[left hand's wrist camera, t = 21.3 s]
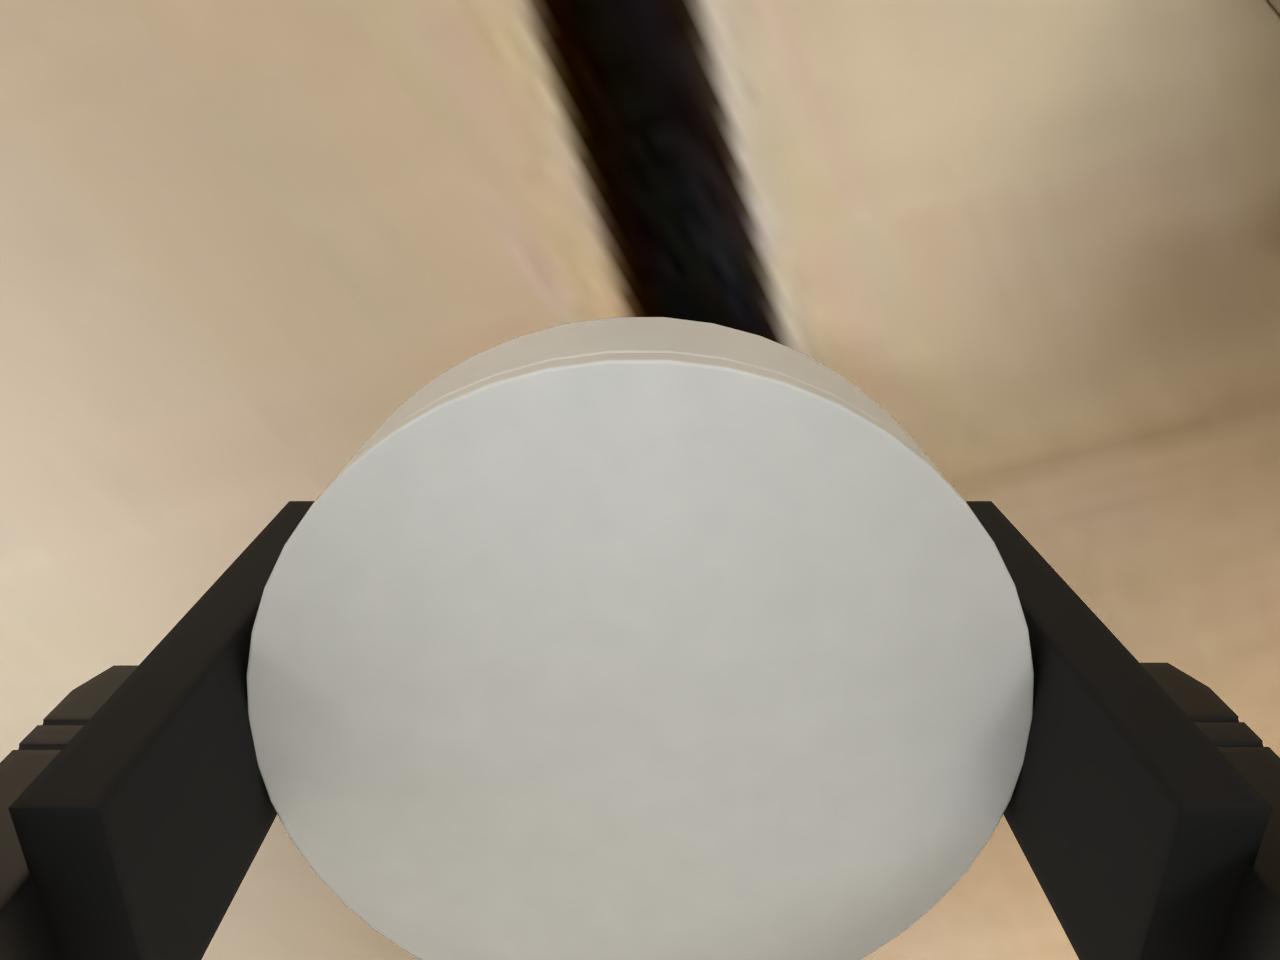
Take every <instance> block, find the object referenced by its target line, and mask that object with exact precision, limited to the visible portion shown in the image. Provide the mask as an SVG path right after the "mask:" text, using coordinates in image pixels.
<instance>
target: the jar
mask: <svg viewBox="0 0 1280 960" xmlns="http://www.w3.org/2000/svg"><path fill="white" fill-rule="evenodd" d="M1269 2H1270V3H1271V4H1272V5H1273V7H1274V8H1275V9H1276V10H1277V11H1278V13H1279V14H1280V0H1269Z"/></svg>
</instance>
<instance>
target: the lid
mask: <svg viewBox="0 0 1280 960" xmlns="http://www.w3.org/2000/svg"><path fill="white" fill-rule="evenodd" d="M1033 684H1034V671H1033V663H1032V655H1031V648H1030V640H1029V632H1028V627H1027V624H1026V620H1025V617H1024V614H1023V610H1022V607H1021V604H1020V600H1019V597H1018V594H1017V590H1016V587H1015V584H1014V582H1013V580H1012V578H1011V576H1010V574H1009V572H1008V570H1007V568H1006V566H1005V564H1004V562H1003V560H1002V557H1001V555H1000V553H999V551H998V549H997V547H996V545H995V543H994V541H993V540H992V539H991V537H990V536H989V534H988V533H987V531H986V530H985V529H984V527H983V526H982V524H981V523H980V521H979V520H978V518H977V517H976V516H975V514H974V513H973V511H972V510H971V508H970V507H969V506H968V504H967V503H966V501H965V500H964V499H963V498H962V497H961V495H960V494H959V493H958V492H957V491H956V490H955V489H954V487H953V486H952V485H951V484H950V483H949V481H948V480H947V479H946V478H945V477H944V475H943V474H942V473H941V472H940V471H939V470H938V468H937V467H936V466H935V465H934V464H933V463H932V461H931V460H930V459H929V458H928V457H927V455H926V454H925V453H924V452H923V451H922V450H921V448H920V447H919V446H918V445H917V444H916V443H915V441H914V440H913V439H912V438H911V437H910V436H909V435H908V434H907V433H906V432H905V430H904V429H903V428H902V427H901V426H900V425H899V424H898V423H897V422H896V421H895V420H894V419H893V418H892V417H891V416H890V415H889V414H888V413H887V412H886V410H885V409H884V408H883V407H882V406H881V405H879V404H878V403H877V402H875V401H874V400H873V399H872V398H870V397H869V396H868V395H867V394H865V393H864V392H863V391H861V390H860V389H859V388H858V387H856V386H855V385H854V384H853V383H851V382H850V381H849V380H848V379H846V378H845V377H843V376H841V375H840V374H838V373H836V372H834V371H833V370H831V369H829V368H828V367H826V366H824V365H822V364H821V363H819V362H817V361H816V360H814V359H812V358H810V357H809V356H807V355H805V354H803V353H800V352H798V351H796V350H793V349H791V348H788V347H786V346H784V345H781V344H779V343H776V342H774V341H771V340H769V339H767V338H764V337H762V336H759V335H755V334H751V333H747V332H743V331H740V330H736V329H732V328H728V327H724V326H721V325H717V324H713V323H705V322H697V321H690V320H682V319H674V318H666V317H613V318H606V319H598V320H591V321H583V322H576V323H569V324H563V325H559V326H556V327H552V328H548V329H545V330H541V331H537V332H534V333H530V334H526V335H523V336H519V337H516V338H513V339H511V340H509V341H506V342H504V343H502V344H499V345H497V346H495V347H492V348H490V349H487V350H485V351H483V352H480V353H478V354H476V355H473V356H471V357H470V358H468V359H466V360H465V361H463V362H461V363H460V364H458V365H456V366H455V367H453V368H451V369H450V370H448V371H446V372H445V373H443V374H441V375H439V376H438V377H436V378H434V379H433V380H431V381H430V382H429V383H428V384H426V385H425V386H424V387H423V388H421V389H420V390H419V391H418V392H416V393H415V394H414V395H413V396H412V397H410V398H409V399H408V400H407V401H405V402H404V403H403V404H402V405H400V406H399V407H398V408H397V409H396V410H395V411H394V412H393V413H392V414H391V415H390V416H389V417H388V418H387V419H386V420H385V422H384V423H383V424H382V425H381V426H380V427H379V428H378V429H377V430H376V431H375V432H374V433H373V434H372V436H371V437H370V438H369V439H368V440H367V441H366V442H365V443H364V444H363V446H362V447H361V448H360V449H359V450H358V451H357V453H356V454H355V455H354V456H353V457H352V459H351V460H350V461H349V462H348V463H347V464H346V466H345V467H344V468H343V469H342V470H341V471H340V473H339V474H338V475H337V476H336V477H335V478H334V480H333V481H332V482H331V483H330V484H329V485H328V487H327V488H326V489H325V490H324V492H323V493H322V494H321V495H320V496H319V497H318V498H317V499H316V501H315V502H314V503H313V504H312V506H311V507H310V509H309V510H308V511H307V513H306V514H305V516H304V517H303V519H302V520H301V522H300V523H299V525H298V526H297V528H296V529H295V531H294V532H293V533H292V535H291V536H290V538H289V539H288V541H287V542H286V544H285V545H284V547H283V550H282V552H281V554H280V556H279V558H278V560H277V562H276V564H275V567H274V569H273V571H272V573H271V575H270V577H269V579H268V581H267V584H266V586H265V588H264V591H263V595H262V598H261V602H260V605H259V609H258V612H257V616H256V619H255V623H254V626H253V629H252V635H251V643H250V652H249V660H248V668H247V697H248V715H249V721H250V726H251V731H252V736H253V742H254V747H255V752H256V757H257V762H258V766H259V770H260V772H261V775H262V778H263V781H264V783H265V786H266V789H267V792H268V794H269V797H270V800H271V802H272V804H273V806H274V808H275V810H276V812H277V814H278V816H279V817H280V819H281V821H282V823H283V825H284V827H285V829H286V831H287V832H288V834H289V836H290V838H291V840H292V841H293V842H294V844H295V845H296V847H297V848H298V849H299V851H300V852H301V854H302V855H303V856H304V858H305V859H306V860H307V862H308V863H309V865H310V866H311V867H312V869H313V870H314V872H315V873H316V874H317V875H318V876H319V877H320V878H321V879H322V880H323V882H324V883H325V884H326V885H327V886H328V887H329V888H330V889H331V890H332V891H333V892H334V893H335V894H336V895H337V896H338V898H339V899H340V900H341V901H342V902H343V903H344V904H345V905H346V906H347V907H349V908H350V909H351V910H352V911H353V912H355V913H356V914H357V915H358V916H359V917H361V918H362V919H363V920H364V921H365V922H366V923H368V924H369V925H370V926H371V927H372V928H374V929H375V930H376V931H377V932H379V933H380V934H382V935H383V936H385V937H386V938H388V939H389V940H391V941H392V942H394V943H395V944H397V945H398V946H400V947H401V948H403V949H404V950H406V951H407V952H409V953H410V954H412V955H413V956H415V957H417V958H419V959H421V960H860V959H862V958H864V957H866V956H867V955H869V954H871V953H872V952H874V951H875V950H877V949H878V948H880V947H881V946H883V945H884V944H886V943H887V942H889V941H890V940H892V939H893V938H895V937H896V936H898V935H899V934H901V933H902V932H904V931H905V930H906V929H908V928H909V927H910V926H911V925H912V924H913V923H915V922H916V921H917V920H918V919H919V918H920V917H922V916H923V915H924V914H925V913H926V912H927V911H929V910H930V909H931V908H932V907H933V906H935V905H936V904H937V903H938V902H939V901H940V900H941V899H942V898H943V897H944V895H945V894H946V893H947V892H948V891H949V890H950V889H951V888H952V887H953V886H954V885H955V884H956V882H957V881H958V880H959V879H960V878H961V877H962V876H963V875H964V874H965V873H966V872H967V870H968V869H969V867H970V866H971V865H972V863H973V862H974V860H975V859H976V858H977V856H978V855H979V853H980V852H981V851H982V849H983V848H984V846H985V845H986V843H987V842H988V841H989V839H990V838H991V836H992V834H993V832H994V830H995V829H996V827H997V825H998V823H999V821H1000V819H1001V817H1002V815H1003V813H1004V811H1005V809H1006V807H1007V806H1008V804H1009V802H1010V800H1011V797H1012V794H1013V791H1014V788H1015V786H1016V783H1017V780H1018V777H1019V774H1020V771H1021V769H1022V766H1023V762H1024V757H1025V752H1026V747H1027V741H1028V736H1029V731H1030V726H1031V721H1032V715H1033Z"/></svg>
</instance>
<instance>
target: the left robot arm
mask: <svg viewBox="0 0 1280 960" xmlns="http://www.w3.org/2000/svg"><path fill="white" fill-rule="evenodd" d="M314 502H315V501H289V502H288V504H287V505H286V506H285V507H284V508H283V509H282V510H281V511H280V512H279V513H278V514H277V516H276V517H275V518H274V519H273V520H272V521H271V522H270V523H269V524H268V525H267V526H266V528H265V529H264V530H263V531H262V532H261V533H260V534H259V535H258V536H257V537H256V538H255V540H254V541H253V542H252V543H251V544H250V545H249V546H248V547H247V548H246V549H245V550H244V552H243V553H242V554H241V555H240V556H239V557H238V558H237V559H236V560H235V561H234V562H233V564H232V565H231V566H230V567H229V568H228V569H227V570H226V571H225V572H224V573H223V574H222V576H221V577H220V578H219V579H218V580H217V581H216V582H215V583H214V584H213V585H212V586H211V588H210V589H209V590H208V591H207V592H206V593H205V594H204V595H203V596H202V597H201V598H200V599H199V601H198V602H197V603H196V604H195V605H194V606H193V607H192V608H191V609H190V610H189V611H188V613H187V614H186V615H185V616H184V617H183V618H182V619H181V620H180V621H179V622H178V623H177V625H176V626H175V627H174V628H173V629H172V630H171V631H170V632H169V633H168V634H167V635H166V637H165V638H164V639H163V640H162V641H161V642H160V643H159V644H158V645H157V646H156V647H155V649H154V650H153V651H152V652H151V653H150V654H149V655H148V656H147V657H146V658H145V659H144V661H143V662H142V663H141V664H140V665H139V666H112V667H111V668H109V669H107V670H106V671H104V672H102V673H101V674H99V675H97V676H96V677H94V678H92V679H91V680H89V681H87V682H86V683H84V684H82V685H81V686H79V687H77V688H76V689H74V690H72V691H71V692H70V693H69V694H68V695H67V696H66V697H65V698H64V699H63V700H62V701H61V702H60V703H59V704H58V705H57V706H56V707H55V708H54V709H53V710H52V711H51V712H50V713H49V714H48V715H47V716H46V717H45V718H44V719H43V721H44V722H43V725H38V726H37V727H36V728H35V729H34V730H33V731H32V732H31V733H30V734H29V735H28V736H27V737H26V738H25V739H24V740H23V741H22V742H21V743H20V744H19V749H18V750H13V751H12V752H11V753H10V754H9V755H8V756H7V757H6V758H5V759H4V760H3V761H2V762H1V763H0V960H201V959H202V957H203V955H204V953H205V951H206V949H207V947H208V946H209V944H210V942H211V940H212V938H213V936H214V934H215V932H216V930H217V928H218V926H219V924H220V923H221V921H222V919H223V917H224V915H225V913H226V911H227V909H228V907H229V905H230V903H231V902H232V900H233V898H234V896H235V894H236V892H237V890H238V888H239V886H240V884H241V882H242V880H243V879H244V877H245V875H246V873H247V871H248V869H249V867H250V865H251V863H252V861H253V859H254V857H255V856H256V854H257V852H258V850H259V848H260V846H261V844H262V842H263V840H264V838H265V836H266V834H267V833H268V831H269V829H270V827H271V825H272V823H273V821H274V819H275V817H276V815H277V812H276V810H275V808H274V806H273V804H272V802H271V800H270V797H269V794H268V792H267V789H266V786H265V783H264V781H263V778H262V775H261V772H260V770H259V766H258V762H257V757H256V752H255V747H254V742H253V736H252V731H251V726H250V721H249V715H248V697H247V668H248V660H249V652H250V643H251V635H252V629H253V626H254V623H255V619H256V616H257V612H258V609H259V605H260V602H261V598H262V595H263V591H264V588H265V586H266V584H267V581H268V579H269V577H270V575H271V573H272V571H273V569H274V567H275V564H276V562H277V560H278V558H279V556H280V554H281V552H282V550H283V547H284V545H285V544H286V542H287V541H288V539H289V538H290V536H291V535H292V533H293V532H294V531H295V529H296V528H297V526H298V525H299V523H300V522H301V520H302V519H303V517H304V516H305V514H306V513H307V511H308V510H309V509H310V507H311V506H312V504H313V503H314ZM966 503H967V504H968V506H969V507H970V508H971V510H972V511H973V513H974V514H975V516H976V517H977V518H978V520H979V521H980V523H981V524H982V526H983V527H984V529H985V530H986V531H987V533H988V534H989V536H990V537H991V539H992V540H993V541H994V543H995V545H996V547H997V549H998V551H999V553H1000V555H1001V557H1002V560H1003V562H1004V564H1005V566H1006V568H1007V570H1008V572H1009V574H1010V576H1011V578H1012V580H1013V582H1014V584H1015V587H1016V590H1017V594H1018V597H1019V600H1020V604H1021V607H1022V610H1023V614H1024V617H1025V620H1026V624H1027V627H1028V632H1029V640H1030V648H1031V655H1032V663H1033V671H1034V684H1033V715H1032V721H1031V726H1030V731H1029V736H1028V741H1027V747H1026V752H1025V757H1024V762H1023V766H1022V769H1021V771H1020V774H1019V777H1018V780H1017V783H1016V786H1015V788H1014V791H1013V794H1012V797H1011V800H1010V802H1009V804H1008V806H1007V807H1006V809H1005V811H1004V813H1003V814H1004V816H1005V818H1006V820H1007V822H1008V824H1009V826H1010V828H1011V830H1012V831H1013V833H1014V835H1015V837H1016V839H1017V841H1018V843H1019V845H1020V847H1021V849H1022V851H1023V853H1024V854H1025V856H1026V858H1027V860H1028V862H1029V864H1030V866H1031V868H1032V870H1033V872H1034V874H1035V876H1036V877H1037V879H1038V881H1039V883H1040V885H1041V887H1042V889H1043V891H1044V893H1045V895H1046V897H1047V898H1048V900H1049V902H1050V904H1051V906H1052V908H1053V910H1054V912H1055V914H1056V916H1057V918H1058V920H1059V921H1060V923H1061V925H1062V927H1063V929H1064V931H1065V933H1066V935H1067V937H1068V939H1069V941H1070V943H1071V944H1072V946H1073V948H1074V950H1075V952H1076V954H1077V956H1078V958H1079V960H1280V758H1279V757H1278V756H1277V755H1276V754H1275V753H1274V752H1273V751H1272V750H1271V749H1270V748H1269V747H1263V744H1262V740H1261V739H1260V738H1259V737H1258V736H1257V735H1256V734H1255V733H1254V732H1253V731H1252V730H1251V729H1250V728H1249V727H1248V726H1247V725H1246V724H1245V723H1244V722H1239V721H1238V716H1237V715H1236V714H1235V713H1234V712H1233V711H1232V710H1231V709H1230V708H1229V707H1228V706H1227V705H1226V704H1225V703H1224V702H1223V701H1222V700H1221V699H1220V698H1219V697H1218V696H1217V695H1216V694H1215V693H1214V692H1213V691H1212V690H1211V689H1210V688H1209V687H1207V686H1206V685H1204V684H1202V683H1201V682H1199V681H1197V680H1196V679H1194V678H1192V677H1191V676H1189V675H1187V674H1185V673H1184V672H1182V671H1180V670H1179V669H1177V668H1175V667H1174V666H1172V665H1170V664H1169V663H1139V662H1138V661H1137V660H1136V659H1135V658H1134V657H1133V655H1132V654H1131V653H1130V652H1129V651H1128V650H1127V649H1126V648H1125V647H1124V646H1123V645H1122V644H1121V642H1120V641H1119V640H1118V639H1117V638H1116V637H1115V636H1114V635H1113V634H1112V633H1111V632H1110V630H1109V629H1108V628H1107V627H1106V626H1105V625H1104V624H1103V623H1102V622H1101V621H1100V620H1099V618H1098V617H1097V616H1096V615H1095V614H1094V613H1093V612H1092V611H1091V610H1090V609H1089V608H1088V606H1087V605H1086V604H1085V603H1084V602H1083V601H1082V600H1081V599H1080V598H1079V597H1078V596H1077V594H1076V593H1075V592H1074V591H1073V590H1072V589H1071V588H1070V587H1069V586H1068V585H1067V584H1066V582H1065V581H1064V580H1063V579H1062V578H1061V577H1060V576H1059V575H1058V574H1057V573H1056V572H1055V570H1054V569H1053V568H1052V567H1051V566H1050V565H1049V564H1048V563H1047V562H1046V561H1045V560H1044V558H1043V557H1042V556H1041V555H1040V554H1039V553H1038V552H1037V551H1036V550H1035V549H1034V548H1033V546H1032V545H1031V544H1030V543H1029V542H1028V541H1027V540H1026V539H1025V538H1024V537H1023V536H1022V535H1021V533H1020V532H1019V531H1018V530H1017V529H1016V528H1015V527H1014V526H1013V525H1012V524H1011V523H1010V521H1009V520H1008V519H1007V518H1006V517H1005V516H1004V515H1003V514H1002V513H1001V512H1000V511H999V509H998V508H997V507H996V506H995V505H994V504H993V503H992V502H991V501H966Z"/></svg>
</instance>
